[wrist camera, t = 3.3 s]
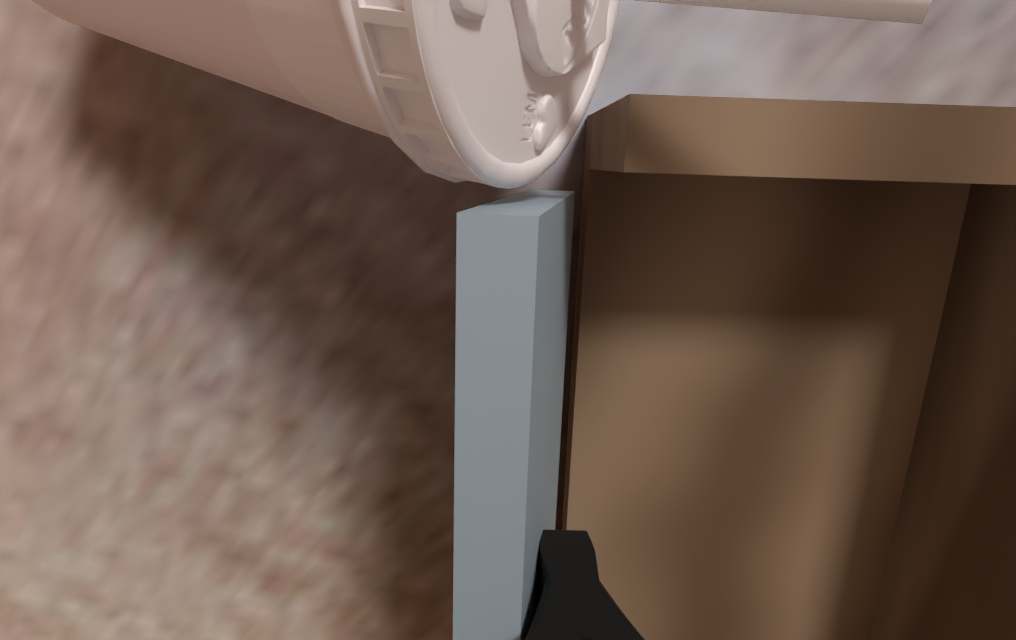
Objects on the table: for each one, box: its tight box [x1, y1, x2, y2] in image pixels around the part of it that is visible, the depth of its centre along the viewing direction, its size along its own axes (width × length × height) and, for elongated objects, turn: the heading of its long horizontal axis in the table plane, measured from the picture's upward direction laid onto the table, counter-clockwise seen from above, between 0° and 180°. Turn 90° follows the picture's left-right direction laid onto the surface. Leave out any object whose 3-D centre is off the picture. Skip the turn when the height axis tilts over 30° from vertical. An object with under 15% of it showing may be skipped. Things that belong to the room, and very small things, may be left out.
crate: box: [562, 94, 1016, 640], centre depth 14 cm, size 10×18×5 cm, turn 178°
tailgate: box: [453, 189, 575, 640], centre depth 12 cm, size 1×14×7 cm, turn 178°
